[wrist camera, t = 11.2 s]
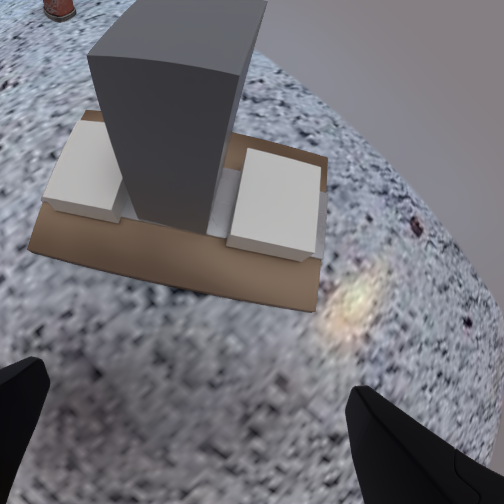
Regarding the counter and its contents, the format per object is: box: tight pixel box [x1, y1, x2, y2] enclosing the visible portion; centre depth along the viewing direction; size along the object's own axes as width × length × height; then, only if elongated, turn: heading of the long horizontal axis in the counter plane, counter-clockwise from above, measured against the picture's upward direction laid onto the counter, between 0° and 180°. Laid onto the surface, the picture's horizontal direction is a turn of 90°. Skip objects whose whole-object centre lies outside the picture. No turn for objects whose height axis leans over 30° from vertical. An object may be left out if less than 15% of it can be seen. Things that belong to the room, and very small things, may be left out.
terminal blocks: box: [43, 120, 321, 262], centre depth 19 cm, size 6×17×2 cm, turn 81°
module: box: [87, 0, 267, 235], centre depth 14 cm, size 5×4×13 cm
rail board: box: [27, 110, 328, 313], centre depth 21 cm, size 12×20×1 cm, turn 81°
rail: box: [41, 152, 328, 260], centre depth 20 cm, size 5×20×1 cm, turn 81°
